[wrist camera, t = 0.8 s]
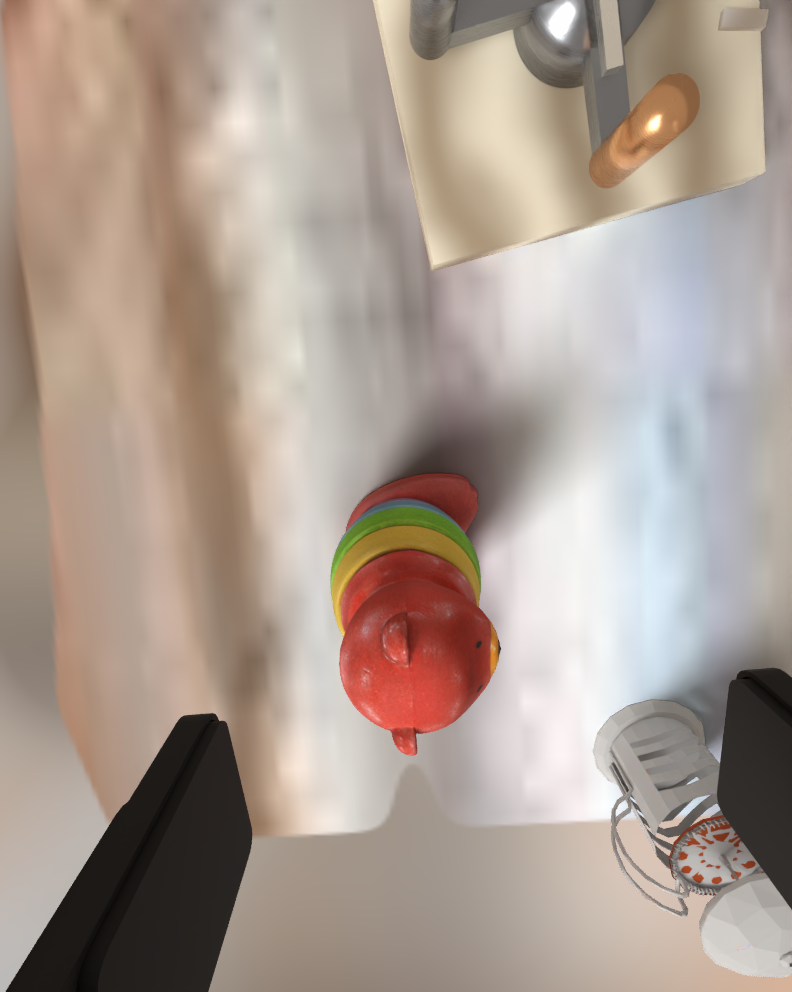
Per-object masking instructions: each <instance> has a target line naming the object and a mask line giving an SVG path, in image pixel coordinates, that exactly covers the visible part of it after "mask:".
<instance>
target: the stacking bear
mask: <svg viewBox="0 0 792 992" xmlns="http://www.w3.org/2000/svg"><path fill="white" fill-rule="evenodd" d="M477 498H478V492H477V490H476V489H475V488H474V487H473V486H471V485H470V484H469V481H468V480H467V479H466V478H465V477H462V476H460V475H456V474H446V473H433V474H422V475H416V476H411V477H407V478H403V479H400V480H397V481H395V482H392V483H390V484H387V485H385V486H383V487H381V488H379V489H378V490H376V491H375V492H373V493H372V494H370V495H369V496H367V497H366V498H365V499H364V500H362V501H361V502H360V504H359V505H358V506H357V507H356V508H355V510H354V511H353V513H352V515H351V517H350V519H349V521H348V524H347V528H346V533H345V534H344V536H343V537H342V539H341V541H340V543H339V545H338V547H337V549H336V552H335V555H334V558H333V562H332V568H331V595H332V601H333V609H334V614H335V617H336V621H337V624H338V627H339V629H340V631H341V633H342V635H343V637H344V638H343V641H342V645H341V649H340V662H339V665H340V675H341V680H342V683H343V686H344V689H345V691H346V693H347V695H348V697H349V699H350V701H351V702H352V704H353V705H354V706H355V707H356V709H357V710H358V711H359V712H360V713H361V714H362V715H363V716H365V717H366V718H367V719H368V720H370V721H371V722H373V723H374V724H376V725H378V726H380V727H382V728H384V729H387V730H390V731H391V732H392V737H393V740H394V743H395V745H396V747H397V748H398V750H400V751H401V752H402V753H404V754H406V755H410V756H414V755H416V754H417V739H416V734H417V733H418V734H421V733H427V732H433V731H436V730H439V729H442V728H444V727H446V726H448V725H450V724H451V723H453V722H454V721H456V720H457V719H458V718H459V717H460V716H461V715H462V714H463V713H464V712H465V711H466V710H467V709H468V708H469V707H470V706H471V705H472V704H473V703H474V701H475V700H476V699H477V698H478V696H479V695H480V694H481V693H482V692H483V690H484V689H485V688H486V686H487V685H488V683H489V681H490V679H491V677H492V675H493V673H494V671H495V669H496V666H497V663H498V659H499V654H500V650H501V647H500V643H499V640H498V637H497V633H496V630H495V628H494V627H493V625H492V623H491V622H490V620H489V619H488V618H487V616H486V615H485V614H484V613H483V611H482V610H481V609H480V608H479V600H480V592H481V575H480V567H479V562H478V559H477V555H476V552H475V550H474V548H473V546H472V544H471V542H470V540H469V539H468V537H467V536H466V534H465V533H466V531H467V529H468V527H469V526H470V524H471V522H472V521H473V519H474V518H475V516H476V513H477V511H478V503H477Z"/></svg>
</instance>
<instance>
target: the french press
mask: <svg viewBox="0 0 792 992" xmlns="http://www.w3.org/2000/svg"><path fill="white" fill-rule="evenodd" d="M704 744H705V736H704V730H703V724H702V723H701V722H700V720H699V719H698V718H697V717H696V715H695V714H694V713H693V712H692V710H690V709H688V708H686V707H684V706H682V705H680V704H678V703H676V702H673V701H662V700H648V701H644V702H640V703H636V704H632V705H628V706H627V707H625V708H624V709H622V710H621V711H619V712H617V713H616V714H614V715H613V716H611V717H610V718H609V719H608V720H607V722H606V723H605V724H604V725H603V727H602V728H601V729H600V731H599V732H598V733H597V737H596V741H595V745H594V749H593V754H594V758H595V762H596V766H597V768H598V769H599V771H600V772H601V773H602V774H603V775H604V776H605V777H606V778H607V779H608V781H610V782H613V783H615V784H617V785H618V786H619V788H620V790H621V792H622V794H623V796H622V797H621V798H619V799H618V800H617V801H616V803H615V805H614V807H613V809H612V815H611V822H612V826H611V840H612V845H613V850H614V853H615V855H616V858H617V860H618V863H619V866H620V868H621V870H622V872H623V873H624V875H625V876H626V877H627V879H628V880H629V882H630V883H631V884H632V885H633V886H634V887H635V888H636V889H637V890H638V891H639V892H640V893H641V895H642V896H643V897H644V898H646V899H647V900H649V901H650V902H652V903H653V904H655V905H656V906H658V907H659V908H661V909H662V910H665V911H667V912H670V913H672V914H674V915H677V916H679V917H685V916H687V914H688V908H687V906H686V905H685V903H684V901H683V898H687V897H689V892H690V891H692V892H694V893H697V894H699V895H712V896H714V895H715V896H714V897H713V898H712V899H711V900H710V901H709V902H708V903H707V904H706V907H705V909H704V912H703V914H702V917H701V919H700V933H701V940H702V946H703V949H704V951H705V953H706V954H707V955H708V956H709V957H710V958H711V959H712V960H713V961H714V962H715V963H716V964H717V965H720V966H723V967H725V968H727V969H730V970H732V971H735V972H737V973H740V974H743V975H746V976H763V977H784V978H785V977H787V976H789V975H791V974H792V910H791V908H790V907H789V905H788V904H787V903H786V901H785V900H784V899H783V897H782V896H781V894H780V893H779V892H778V890H777V889H776V888H775V886H774V885H773V883H772V882H771V881H770V879H769V878H768V877H767V875H766V874H765V872H764V871H763V870H762V868H761V867H760V865H759V864H758V863H757V861H756V860H755V859H754V857H753V856H752V854H751V853H750V852H749V850H748V849H747V848H746V846H745V845H744V843H743V842H742V841H741V839H740V838H739V837H738V835H737V834H736V832H735V831H734V830H733V828H732V827H731V826H730V824H729V823H728V821H727V820H726V819H725V817H724V815H723V814H722V811H721V810H720V811H719V812H717V813H716V814H714V815H713V816H711V817H710V818H707V819H703V820H701V821H699V822H697V823H695V824H694V825H692V823H693V822H694V821H695V820H696V819H697V818H698V817H699V816H700V815H701V814H703V813H704V812H705V811H706V810H707V809H708V808H710V807H711V806H713V805H715V804H716V803H717V804H718V800H717V786H718V778H719V769H720V763H719V762H718V761H717V760H716V759H715V757H714V756H713V755H712V754H711V752H710V751H709V750H708V749H707V747H706V746H705V745H704ZM695 777H698V778H699V779H700V780H698V781H695V782H693V783H691V784H688V785H686V784H687V783H688V782H690V781H691V780H693V779H694V778H695ZM706 795H711V796H709V797H708V798H706V799H705V800H703V801H702V802H701V803H700V804H699V805H698V806H696V807H695V808H694V809H693V810H692V811H691V812H690V813H689V814H688V815H687V816H686V817H685V818H684V820H683V821H682V822H681V823H680V824H679V825H678V826H675V827H671V828H666V829H662V828H660V827H658V826H659V824H660V823H661V822H664V821H671V820H673V819H674V818H675V817H676V816H677V815H678V814H679V813H680V812H681V811H682V810H683V809H684V808H685V807H686V806H687V805H688V804H689V803H690V802H691V801H692V800H693V799H695V798H697V797H701V796H706ZM630 796H631V797H632V798H633V799H634V800H635V801H636V803H637V804H636V803H634V802H633V801H632V800H631V799H630ZM624 800H626V802H627V803H628V807H629V808H627V809H626V810H625V811H623V812H622V813H621V814H619V815H618V816H617V817H616V816H615V811H616V809H617V807H618V805H619V804H620V803H621V802H623V801H624ZM718 806H719V804H718ZM631 808H632V810H633V812H634V814H635V816H636V817H637V819H638V821H639V823H640V825H641V827H642V829H643V831H644V832H645V834H646V836H647V838H648V840H649V842H650V844H651V846H652V847H653V849H654V851H655V853H656V855H657V857H658V858H659V859H660V860H661V861H662V863H663V864H664V865H665V866H666V867H667V868H669V869H671V874H672V877H673V878H674V879H675V880H676V886H675V889H676V891H674V890H672V889H669V888H666V887H664V886H662V885H661V884H659V883H658V882H656V881H655V880H653V879H652V878H650V877H649V876H647V875H646V874H645V873H644V872H643V871H642V870H641V869H640V868H639V867H638V866H637V865H636V864H635V863H634V862H633V861H632V859H631V858H630V857H629V856H628V854H627V853H626V851H625V849H624V847H623V845H622V843H621V840H620V838H619V835H618V833H617V831H616V826H617V824H618V822H619V821H620V819H622V818H623V817H625V816H626V815H627V814H629V813H630V812H631ZM636 809H637V810H639V811H640V812H641V813H642V814H643V815H644V817H645V819H646V820H645V819H644V818H643V817H642V816H641V815H639V814H638V812H637V810H636ZM644 824H646V825H647V826H648V827H649V828H651V830H652V832H653V833H654V835H653V834H652V833H651V832H650V831H649V830H647V829H646V827H645V825H644ZM691 825H692V826H691ZM656 832H657V833H660V834H662V835H664V836H666V837H673V836H679V835H680V836H679V837H678V839H677V840H676V841H675V842H674V844H673V845H672V844H670V843H668V842H665V841H663V840H661V839H658V838H656V837H655V835H656ZM615 838H616V840H617V842H618V844H619V846H620V848H621V850H622V852H623V854H624V856H625V857H626V859H627V860H628V861H629V863H630V864H631V865H632V866H633V867H634V868H635V869H636V870H637V871H638V872H639V873H640V874H641V875H642V876H643V877H644V878H646V879H647V880H648V881H650V882H651V883H653V884H654V885H656V886H657V887H659V888H660V889H661V890H663V891H664V892H667V893H670V894H672V895H675V896H677V897H678V900H679V902H680V904H681V907H682V909H683V911H682V912H679V911H677V910H674V909H671V908H669V907H666V906H663V905H662V904H661V903H659V902H658V901H656V900H655V899H653V898H652V897H650V896H649V895H648V894H646V893H645V892H644V891H643V890H642V889H641V888H640V887H639V886H638V885H637V884H636V883H635V881H634V880H633V879H632V878H631V877H630V875H629V874H628V873H627V872H626V870H625V868H624V866H623V863H622V861H621V859H620V856H619V854H618V852H617V848H616V843H615ZM652 839H653V840H654V841H656V842H657V843H658V844H659V845H660V846H662V847H664V848H666V849H668V850H670V851H671V853H670V856H668V855H666V854H665V853H664V852H663V851H661V850H660V849H659V848H658V847H657V846H655V844H654V842H653V840H652ZM680 885H681V886H682V888H683V889H684V891H685V892H683V893H680Z"/></svg>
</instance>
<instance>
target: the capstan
mask: <svg viewBox="0 0 792 992" xmlns="http://www.w3.org/2000/svg"><path fill="white" fill-rule="evenodd" d="M655 1H656V0H410V24H409V38H410V43H411V46H412V48H413V50H414V51H415V53H416V54H417V55H418V56H420V57H421V58H423V59H426V60H435V59H438V58H440V57H441V56H443V55H444V54H445V53H446V52H447V50H448V49H451V48H454V47H457V46H461V45H464V44H467V43H470V42H473V41H476V40H480V39H483V38H486V37H489V36H492V35H496V34H499V33H502V32H505V31H508V30H512V29H513V35H514V40H515V45H516V48H517V51H518V54H519V56H520V58H521V60H522V62H523V63H524V65H525V66H526V68H527V69H528V70H529V71H530V72H531V74H532V75H534V76H535V77H536V78H537V79H538V80H540V81H542V82H543V83H545V84H547V85H550V86H553V87H557V88H575V87H579V86H582V85H583V86H584V94H585V102H586V111H587V119H588V127H589V135H590V144H591V152H592V156H591V158H590V162H589V174H590V177H591V179H592V181H593V182H594V183H595V184H596V185H597V186H599V187H601V188H606V189H608V188H613V187H615V186H617V185H619V184H620V183H621V182H622V181H624V180H625V179H626V178H627V177H629V176H630V175H631V174H632V173H633V172H635V171H636V170H637V169H638V168H640V167H641V166H642V165H643V164H644V163H646V162H647V161H648V160H649V159H651V158H652V157H653V156H654V155H655V154H657V153H658V152H659V151H660V150H662V149H663V148H664V147H665V146H667V145H668V144H669V143H670V142H671V141H673V140H674V139H675V138H676V137H678V136H679V135H680V134H681V133H682V132H684V131H685V130H686V129H687V128H688V127H689V126H690V125H691V124H692V123H693V121H694V119H695V118H696V116H697V113H698V110H699V106H700V93H699V89H698V87H697V85H696V83H695V82H694V80H693V79H692V78H691V77H689V76H688V75H685V74H682V73H673V74H669V75H667V76H665V77H663V78H662V79H660V80H659V81H658V82H657V83H656V84H655V85H654V86H653V88H652V89H651V90H650V91H649V92H648V93H647V94H646V95H645V96H644V97H643V98H642V100H641V101H640V102H639V103H638V104H637V105H636V106H635V107H634V108H633V109H632V110H631V112H630V104H629V94H628V84H627V74H626V64H625V54H624V47H625V45H626V44H627V42H628V41H629V40H630V38H631V37H632V35H633V34H634V33H635V31H636V30H637V28H638V27H639V26H640V24H641V23H642V21H643V20H644V19H645V17H646V16H647V14H648V13H649V11H650V10H651V8H652V6H653V4H654V2H655Z"/></svg>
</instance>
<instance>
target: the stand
mask: <svg viewBox="0 0 792 992" xmlns="http://www.w3.org/2000/svg"><path fill="white" fill-rule="evenodd" d="M373 3H374V8H375V12H376V17H377V22H378V26H379V31H380V36H381V40H382V45H383V50H384V54H385V59H386V63H387V68H388V73H389V77H390V82H391V87H392V91H393V96H394V101H395V105H396V110H397V115H398V119H399V124H400V129H401V133H402V138H403V142H404V147H405V152H406V156H407V161H408V166H409V170H410V175H411V180H412V184H413V189H414V194H415V198H416V203H417V208H418V212H419V217H420V221H421V226H422V231H423V235H424V240H425V245H426V249H427V254H428V259H429V263H430V268H431V271H434V270H438V269H441V268H445V267H449V266H452V265H456V264H459V263H463V262H466V261H470V260H474V259H477V258H481V257H484V256H488V255H492V254H495V253H499V252H502V251H506V250H509V249H513V248H517V247H520V246H524V245H527V244H531V243H535V242H538V241H542V240H545V239H549V238H552V237H556V236H560V235H563V234H567V233H570V232H574V231H578V230H581V229H585V228H588V227H592V226H595V225H599V224H603V223H606V222H610V221H613V220H617V219H621V218H624V217H628V216H631V215H635V214H638V213H642V212H646V211H649V210H653V209H656V208H660V207H663V206H667V205H671V204H674V203H678V202H681V201H685V200H689V199H692V198H696V197H699V196H703V195H706V194H710V193H714V192H717V191H721V190H724V189H728V188H732V187H735V186H739V185H742V184H744V183H746V182H747V181H749V180H751V179H753V178H755V177H757V176H759V175H761V174H763V173H765V147H764V118H763V89H762V60H761V31H762V30H763V29H764V28H766V23H767V18H768V12H769V9H760V2H759V0H656V1H655V2H654V4H653V6H652V8H651V10H650V11H649V13H648V14H647V16H646V17H645V19H644V20H643V21H642V23H641V24H640V26H639V27H638V28H637V30H636V31H635V33H634V34H633V35H632V37H631V38H630V40H629V41H628V42H627V44H626V45H625V47H624V54H625V64H626V74H627V84H628V94H629V104H630V112H631V110H632V109H633V108H634V107H635V106H636V105H637V104H638V103H639V102H640V101H641V100H642V98H643V97H644V96H645V95H646V94H647V93H648V92H649V91H650V90H651V89H652V88H653V86H654V85H655V84H656V83H657V82H658V81H659V80H660V79H662V78H663V77H665V76H667V75H669V74H673V73H682V74H685V75H688V76H689V77H691V78H692V79H693V80H694V82H695V83H696V85H697V87H698V89H699V93H700V106H699V110H698V113H697V116H696V118H695V119H694V121H693V123H692V124H691V125H690V126H689V127H688V128H687V129H686V130H685V131H684V132H682V133H681V134H680V135H679V136H678V137H676V138H675V139H674V140H673V141H671V142H670V143H669V144H668V145H667V146H665V147H664V148H663V149H662V150H660V151H659V152H658V153H657V154H655V155H654V156H653V157H652V158H651V159H649V160H648V161H647V162H646V163H644V164H643V165H642V166H641V167H640V168H638V169H637V170H636V171H635V172H633V173H632V174H631V175H630V176H629V177H627V178H626V179H625V180H624V181H622V182H621V183H620V184H619V185H617V186H615V187H613V188H608V189H606V188H601V187H599V186H597V185H596V184H595V183H594V182H593V181H592V179H591V177H590V174H589V162H590V158H591V156H592V152H591V144H590V135H589V127H588V119H587V111H586V102H585V94H584V86H583V85H582V86H579V87H575V88H557V87H553V86H550V85H547V84H545V83H543V82H542V81H540V80H538V79H537V78H536V77H535V76H534V75H532V74H531V72H530V71H529V70H528V69H527V68H526V66H525V65H524V63H523V62H522V60H521V58H520V56H519V54H518V51H517V48H516V45H515V40H514V35H513V29H512V30H508V31H505V32H502V33H499V34H496V35H492V36H489V37H486V38H483V39H480V40H476V41H473V42H470V43H467V44H464V45H461V46H457V47H454V48H451V49H448V50H447V52H446V53H445V54H444V55H443V56H441V57H440V58H438V59H435V60H426V59H423V58H421V57H420V56H418V55H417V54H416V53H415V51H414V50H413V48H412V46H411V43H410V38H409V24H410V0H373Z"/></svg>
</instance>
